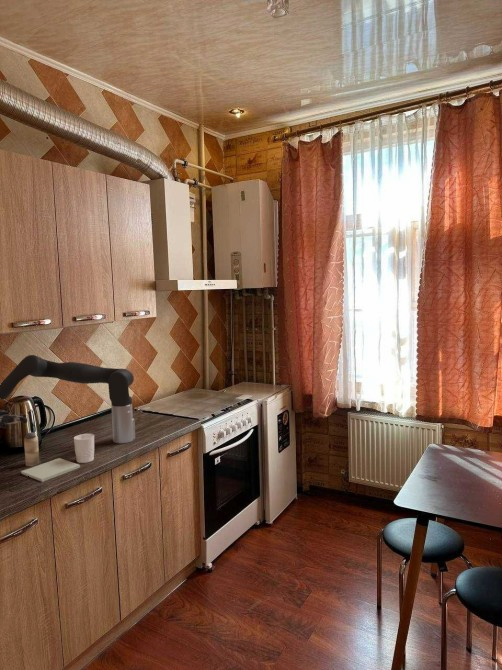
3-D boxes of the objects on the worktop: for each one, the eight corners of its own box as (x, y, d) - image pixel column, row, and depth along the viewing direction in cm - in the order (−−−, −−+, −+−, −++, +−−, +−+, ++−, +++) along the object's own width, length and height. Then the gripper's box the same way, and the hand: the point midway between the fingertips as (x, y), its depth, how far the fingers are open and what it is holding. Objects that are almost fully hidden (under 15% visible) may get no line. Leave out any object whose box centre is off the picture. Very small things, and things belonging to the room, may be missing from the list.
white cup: (71, 460, 186) (70, 436, 185) (90, 455, 192) (89, 432, 191) (80, 465, 180) (78, 441, 179) (98, 460, 186) (97, 436, 185)
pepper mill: (35, 460, 186) (33, 431, 185) (41, 463, 183) (40, 433, 182) (23, 464, 182) (21, 434, 181) (30, 467, 179) (28, 436, 178)
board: (59, 460, 186) (59, 458, 186) (80, 467, 178) (80, 464, 178) (21, 473, 173) (21, 471, 173) (42, 481, 165) (42, 479, 165)
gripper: (-22, 412, 190) (-2, 418, 181) (11, 405, 202) (32, 410, 192) (-21, 429, 190) (-1, 436, 181) (12, 421, 202) (33, 427, 193)
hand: (16, 423), depth 187 cm, fingers open, 8 cm apart
